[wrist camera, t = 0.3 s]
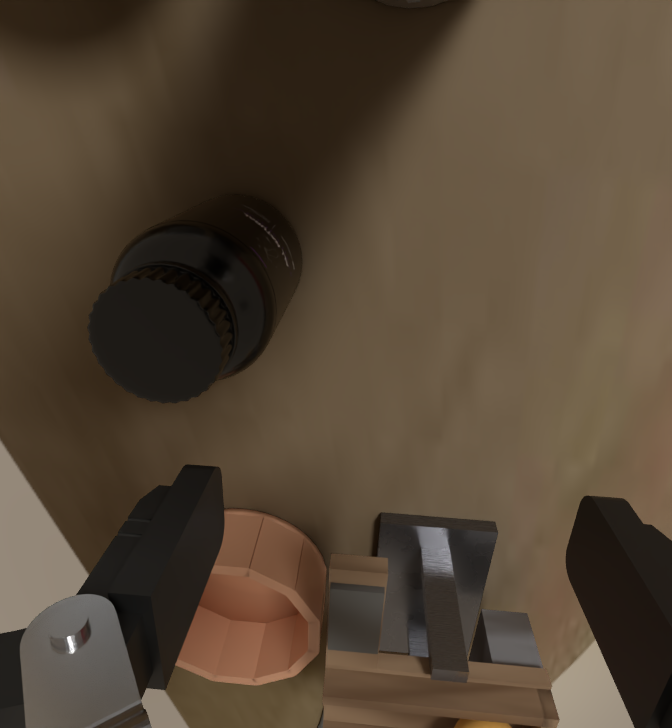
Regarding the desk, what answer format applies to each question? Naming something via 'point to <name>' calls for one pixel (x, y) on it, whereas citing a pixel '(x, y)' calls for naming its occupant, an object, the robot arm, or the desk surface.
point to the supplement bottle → (196, 298)
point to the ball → (480, 724)
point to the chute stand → (434, 587)
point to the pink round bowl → (258, 604)
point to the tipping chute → (423, 665)
